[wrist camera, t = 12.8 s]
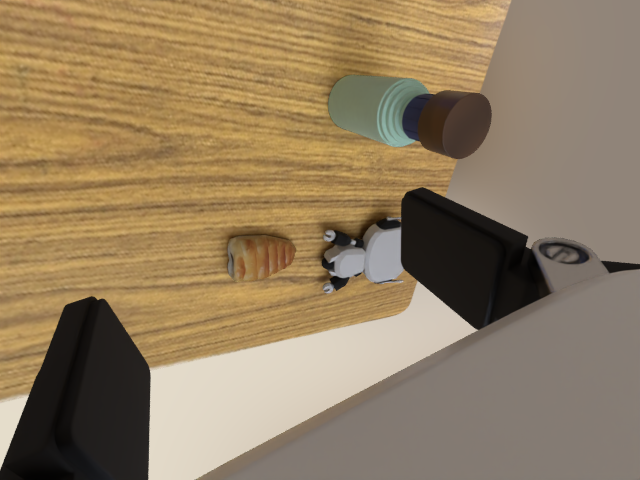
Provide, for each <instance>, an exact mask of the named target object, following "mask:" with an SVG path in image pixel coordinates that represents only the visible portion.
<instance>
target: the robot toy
mask: <svg viewBox="0 0 640 480" xmlns="http://www.w3.org/2000/svg"><path fill="white" fill-rule="evenodd" d="M397 219H401V217H387V219H383V220H380V221H378V222H377V223H376V224H373V225H372V226H371V227H369V229H368V230H367V231H366V233H365V235H364V237H363V240H361V239H358V238H355V239H354V240H353V239H351V238H350V237H349V236H348V235H347V234H345V233H343V232H339V231H336V230H334V231H333V230H326V231H325V234H328V236H327V235H323V238H324V240H326V241H331V242H332V243H333V244H336V245H335V246H334V247H333V248H331V249H329V250H327V251H326V252H325V254H324V257H325V258H324V259H323V260H322V266H323V267H324V268H325V269H327V270H328V271H329V273H330V274H331V275H334V277H332V278H330V281H331V283H326V284H324V285H323V290H324V291H325V293H330V292H332V290H333V289H334V288H335V289H336V291H337V290H339V289H340V288H342V287H344V286H345V285H346V284H347V282H348V280H349V278H350V277H352V276H353V275H354V276H355V277H357V276H358V275H360V274H361V272H363V273H364V274H365V276H366V277H367V278H368V279H369V280H370V281H372V282H374V283H380V284H383V283H393V282H399V283H401V282H403V280H395V281H391V280H392V279H395V278H397V277H398V276H399V275H400V274H401V273H402V271H403V269H404V268H403V267H402V264H401V222H399V221H398V220H397Z"/></svg>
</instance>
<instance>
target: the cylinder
mask: <svg viewBox="0 0 640 480" xmlns="http://www.w3.org/2000/svg"><path fill="white" fill-rule="evenodd" d="M491 116H492V113H491V106H490V103H489V101H488V99H487V98H486V97H485V96H484V95H482V94H480V93H472V92H461V91H451V90H445V91H441V92H439V93H437V94H435V95H434V96H433V97H432V98H431V99H430V100H429V101H428V102H427V103H426V105H425V106H424V108H423V110H422V112H421V114H420V117H419V121H418V137H419V140H420V142H421V144H422V146H423V147H424V148H426V149H427V150H429V151H432V152H436V153H439V154H442V155H445V156H448V157H451V158H454V159H462V158H465V157H467V156H469V155H471V154H472V153H474V152H475V151H476V150H477V148H479V146H480V145H481V144H482V143H483V141H484V139H485V137H486V135H487V133H488V131H489V127H490V124H491Z"/></svg>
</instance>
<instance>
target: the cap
mask: <svg viewBox="0 0 640 480" xmlns="http://www.w3.org/2000/svg"><path fill="white" fill-rule="evenodd" d="M433 96H434V94H425V93H424V94H421V95H418V96H416V97H414V98H413V99H412V100H411V101H410V102H409V103H408V104H407V106H406V108H405V110H404V113H403V117H402V127H403V131H404V133H405V134H406V136H407V137H408V138H410V139H413V140H416V141H420V140H419V137H418V121H419V117H420V114H421V112H422V110H423V108H424V106H425V105H426V103H427V102H428V101H429V100H430V99H431V98H432V97H433Z"/></svg>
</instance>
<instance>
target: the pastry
mask: <svg viewBox="0 0 640 480" xmlns="http://www.w3.org/2000/svg"><path fill="white" fill-rule="evenodd" d="M295 252H296V248H295V246H294V245H293V244H292V243H291V242H290V241H289V240H285V239H280V238H277V237H271V236H268V235H250V236H237V237H234V238H231V239H230V240H229V245H228V256H229V263H228V273H229V275H230V276H231V278H232V279H233V280H234V281H236V282H240V281H254V280H257V279H264V278H266V277H268V276H271V275H272V274H275V273H277V272H278V271H280V270H282V269H285V268H286V267H287V266H289V265H290V264H291V263H292V261H293V259H294V255H295Z"/></svg>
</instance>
